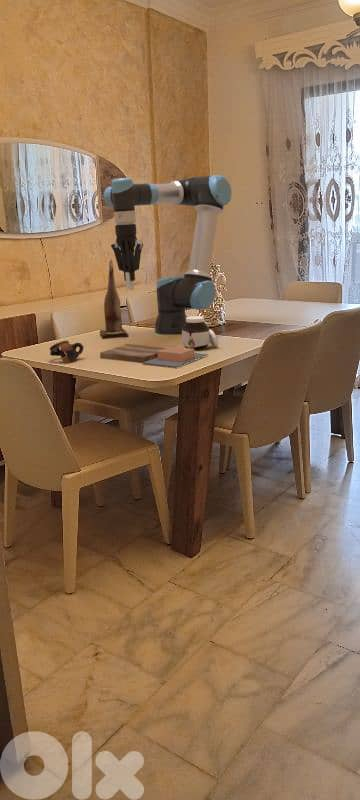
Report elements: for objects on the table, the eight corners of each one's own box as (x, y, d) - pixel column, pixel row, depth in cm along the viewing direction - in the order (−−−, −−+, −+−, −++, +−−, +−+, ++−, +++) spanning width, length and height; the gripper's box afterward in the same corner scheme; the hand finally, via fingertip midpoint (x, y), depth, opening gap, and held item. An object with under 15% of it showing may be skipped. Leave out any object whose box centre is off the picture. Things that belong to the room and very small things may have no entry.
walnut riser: (127, 349, 242) (127, 344, 242) (171, 353, 232) (170, 348, 231) (100, 357, 230) (100, 352, 229) (145, 363, 219) (144, 357, 218)
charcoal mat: (175, 352, 233) (175, 351, 233) (208, 355, 225) (207, 354, 225) (142, 364, 217) (142, 362, 217) (176, 368, 209) (176, 366, 209)
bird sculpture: (103, 340, 264) (98, 261, 254) (98, 334, 275) (93, 259, 265) (129, 338, 267) (125, 260, 257) (124, 332, 277) (120, 257, 267)
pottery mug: (56, 366, 222) (47, 345, 222) (56, 372, 231) (47, 352, 231) (88, 354, 225) (79, 333, 225) (86, 360, 234) (77, 340, 235)
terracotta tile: (170, 354, 227) (170, 346, 226) (194, 357, 221) (194, 348, 220) (157, 359, 220) (157, 351, 219) (181, 362, 215) (181, 353, 214)
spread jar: (179, 348, 240) (178, 317, 236) (200, 343, 247) (199, 313, 244) (202, 352, 231) (201, 320, 228) (223, 347, 239) (222, 316, 235)
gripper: (104, 225, 228) (110, 291, 235) (134, 223, 221) (139, 291, 228) (116, 223, 234) (122, 288, 241) (146, 222, 227) (150, 288, 235)
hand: (130, 289), depth 235 cm, fingers closed
